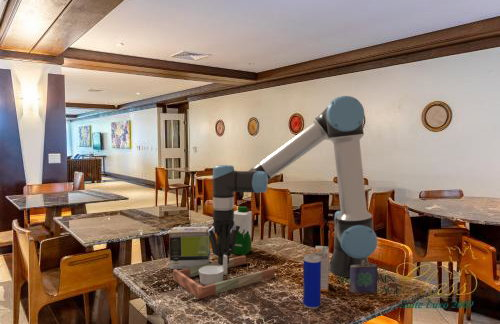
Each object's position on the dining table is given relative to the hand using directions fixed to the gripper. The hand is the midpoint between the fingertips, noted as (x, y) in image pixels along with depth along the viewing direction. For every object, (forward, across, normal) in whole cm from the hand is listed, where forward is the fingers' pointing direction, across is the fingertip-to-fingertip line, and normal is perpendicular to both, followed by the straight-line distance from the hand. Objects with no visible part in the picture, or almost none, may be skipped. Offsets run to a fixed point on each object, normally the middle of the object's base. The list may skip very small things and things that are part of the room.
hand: (223, 272), depth 131 cm
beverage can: (+2, -10, +34) cm, 36 cm away
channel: (+2, -1, 0) cm, 2 cm away
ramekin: (+2, +5, 0) cm, 6 cm away
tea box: (+2, +3, -20) cm, 20 cm away
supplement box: (+2, -23, +26) cm, 35 cm away
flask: (+2, -31, +37) cm, 48 cm away
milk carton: (+2, -23, -22) cm, 32 cm away
